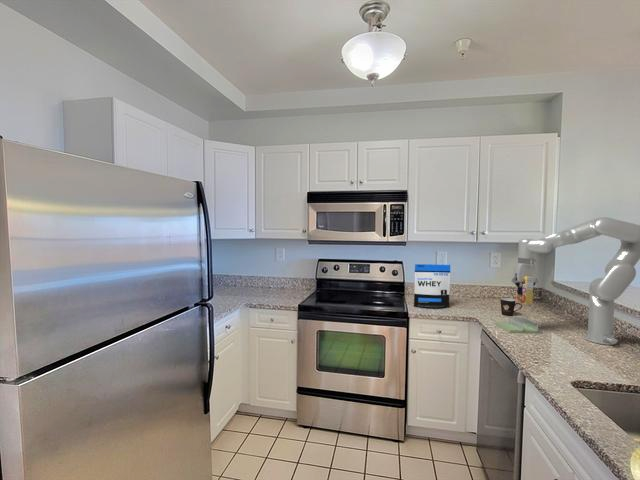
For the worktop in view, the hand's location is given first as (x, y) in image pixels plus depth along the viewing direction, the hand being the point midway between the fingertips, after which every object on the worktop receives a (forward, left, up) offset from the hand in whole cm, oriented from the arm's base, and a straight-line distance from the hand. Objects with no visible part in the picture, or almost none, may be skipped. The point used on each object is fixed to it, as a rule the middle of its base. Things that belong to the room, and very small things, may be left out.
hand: (524, 294), depth 182 cm
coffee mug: (+29, -9, -20) cm, 36 cm away
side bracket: (0, 0, -18) cm, 18 cm away
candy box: (0, 0, -5) cm, 5 cm away
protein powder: (+47, +35, -20) cm, 62 cm away
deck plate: (+2, +2, -20) cm, 20 cm away
